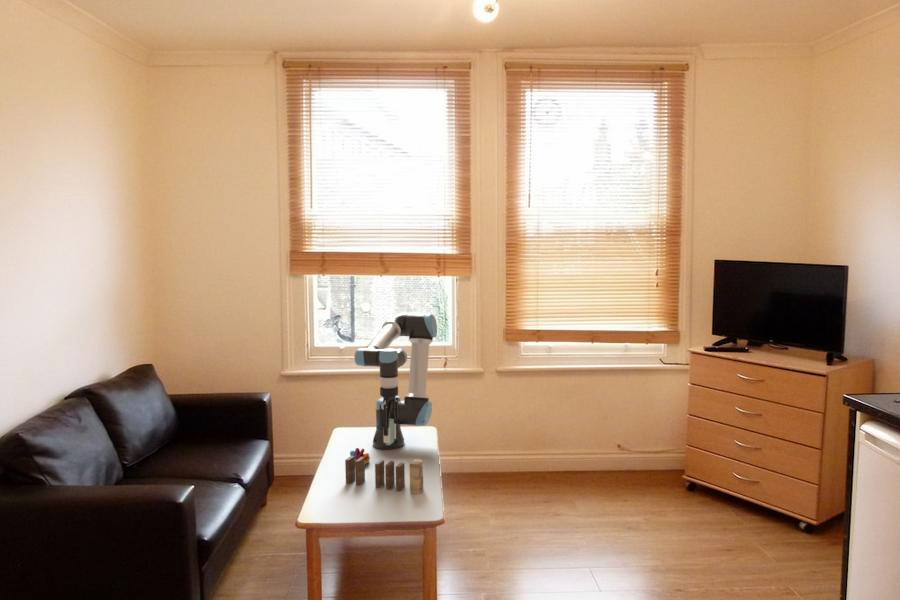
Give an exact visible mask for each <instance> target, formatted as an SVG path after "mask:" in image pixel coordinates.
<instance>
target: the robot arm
mask: <svg viewBox="0 0 900 600" xmlns="http://www.w3.org/2000/svg"><path fill="white" fill-rule="evenodd" d="M437 336H438V324H437V319H436V317H435V315H434V314H433V313H426V312H401V313H400V312H399V313H398V314H395V315H393V316H391V317H390V318H388V319H387V320H386V321H385V322H384V323H383V325H382V327H381V329H380V331H379V332H378V333H377V334H376V336H375V337H373V339H372V340H371V341H370V342H369V343H368V345H367V346H366V347H365V348H363V347H362V348H357V349H356V350H355V353H354V363H355V364H356V365H357V366H358V367H359V366H361V367H378V368H379V377H378V378H379V386H380V387H379V393H380V394H379V396H380V398H378V399H377V400H376V402H375V427H376V428H375V431H374V436H373V439H372V445H373V446H372V447H374V448H376V449H379V450H396V449H399V448H401V447H403V446H404V445H405V438H404V434H403V432H402V428H401V425H402V426H403V425H404V426H415V427H425V426H427V424H428V423H429V422H430V420H431V416H432V412H433V404H432V402H431V401H429V399H430V398H429V396H428V395H427V384H428V383H427V381H428V368H429V367H428V365H429V355H430V354H429V353H430V345H431V344H432V343H433V340H434V338H436V337H437ZM399 337H408V340H409V342H410V343H411V348H410V349H411V350H410V363H409V373H408V374H409V375H408V377H409V378H408V389H407V394H405V395H404V397H403V398H404V399H401V397H400V396H399V387H398V386H399V368H400V367H402V366H404V365H405V364H406V362H407V361H408V353H407V352H406V350H404V349H403V348H389V347H390V345H391V344H392V342H393V341H394V340H397V339H398V338H399ZM390 418H392V419H394V442H393V443H392V444H390V445H386V443H390V427H389V420H390Z"/></svg>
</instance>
